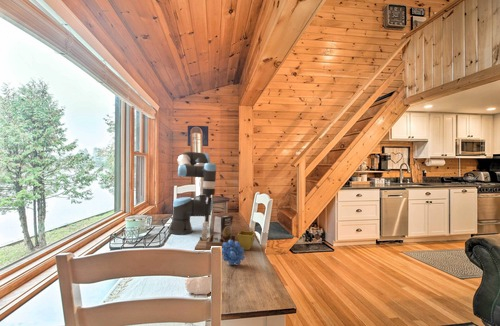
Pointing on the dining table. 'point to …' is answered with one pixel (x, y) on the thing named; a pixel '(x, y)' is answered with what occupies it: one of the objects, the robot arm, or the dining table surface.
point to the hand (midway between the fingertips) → (206, 226)
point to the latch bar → (204, 231)
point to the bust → (198, 285)
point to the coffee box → (222, 228)
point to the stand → (210, 243)
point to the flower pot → (246, 239)
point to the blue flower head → (232, 252)
